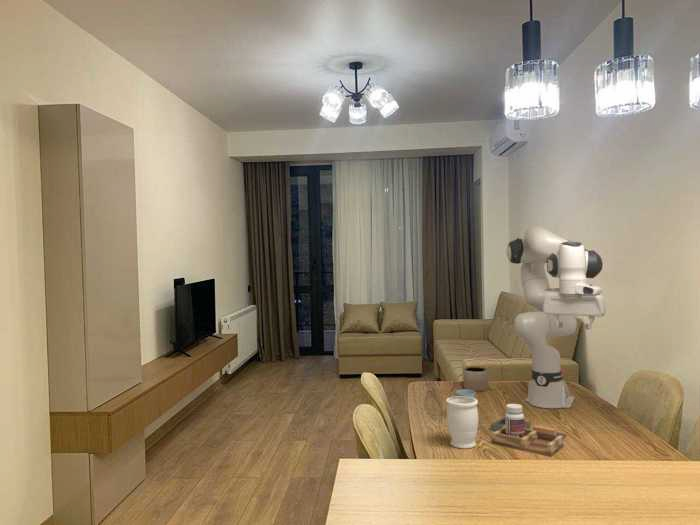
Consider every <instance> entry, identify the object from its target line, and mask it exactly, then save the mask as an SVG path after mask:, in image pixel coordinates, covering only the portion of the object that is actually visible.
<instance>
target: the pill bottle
mask: <svg viewBox="0 0 700 525" xmlns="http://www.w3.org/2000/svg"><path fill="white" fill-rule="evenodd" d="M505 410H506V413H505V415H504V418H505V424H504V426H505V427H506V435H510V436H515V437H519V438H523V437H525V425H524V421H525V415H524V413H523V406H522V405H521V404H518V403H508V404H506V406H505Z"/></svg>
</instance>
